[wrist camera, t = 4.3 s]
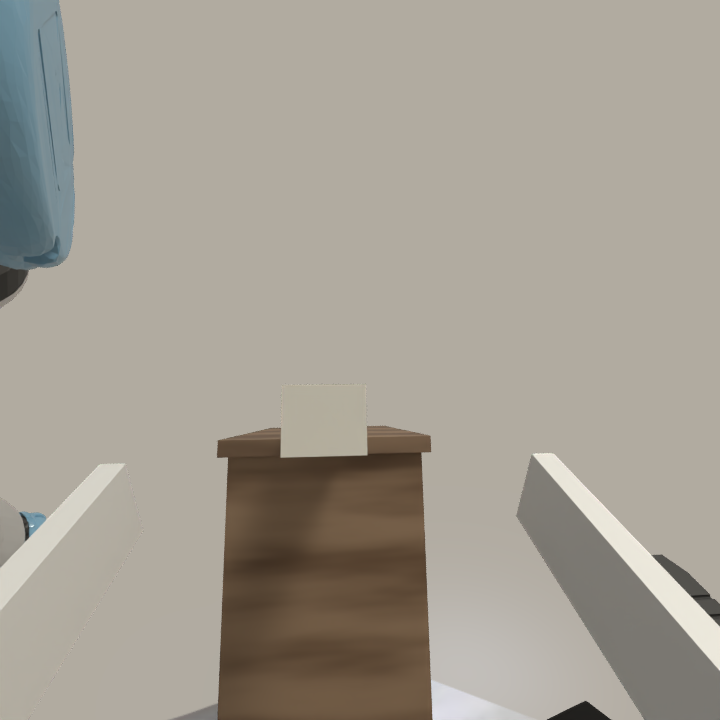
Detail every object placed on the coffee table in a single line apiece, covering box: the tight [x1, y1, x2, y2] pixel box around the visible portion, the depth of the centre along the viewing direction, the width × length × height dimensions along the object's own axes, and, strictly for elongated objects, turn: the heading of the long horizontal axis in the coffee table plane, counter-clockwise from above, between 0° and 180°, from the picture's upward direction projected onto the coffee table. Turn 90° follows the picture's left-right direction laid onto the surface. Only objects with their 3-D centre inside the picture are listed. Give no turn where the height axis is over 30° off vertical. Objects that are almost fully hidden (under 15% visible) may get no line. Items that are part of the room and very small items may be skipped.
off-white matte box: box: [280, 384, 367, 458], centre depth 25 cm, size 26×3×3 cm, turn 5°
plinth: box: [217, 426, 432, 720], centre depth 29 cm, size 19×13×30 cm
